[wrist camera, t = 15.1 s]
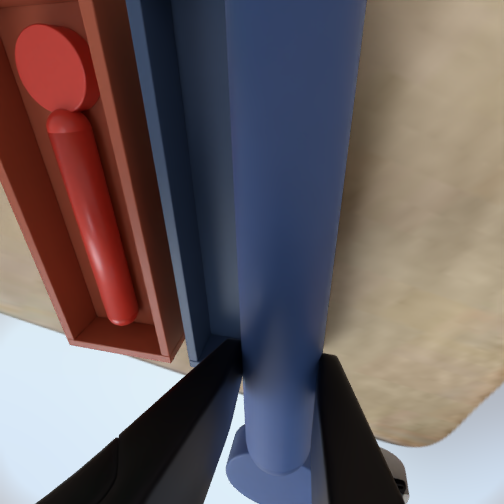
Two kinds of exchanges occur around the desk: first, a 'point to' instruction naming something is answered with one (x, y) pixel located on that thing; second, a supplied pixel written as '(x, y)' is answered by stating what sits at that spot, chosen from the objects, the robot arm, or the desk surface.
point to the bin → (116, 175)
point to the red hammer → (78, 152)
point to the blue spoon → (286, 220)
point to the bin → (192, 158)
